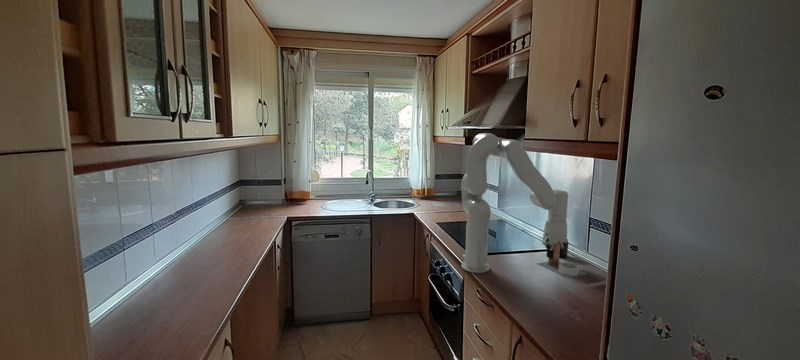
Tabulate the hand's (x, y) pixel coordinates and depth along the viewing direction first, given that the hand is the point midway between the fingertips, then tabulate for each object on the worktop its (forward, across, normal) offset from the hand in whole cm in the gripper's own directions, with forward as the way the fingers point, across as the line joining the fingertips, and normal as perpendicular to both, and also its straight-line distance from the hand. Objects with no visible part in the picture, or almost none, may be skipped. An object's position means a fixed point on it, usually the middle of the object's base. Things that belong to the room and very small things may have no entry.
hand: (553, 256), depth 158 cm
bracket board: (+5, 0, +4) cm, 7 cm away
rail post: (+4, 0, 0) cm, 4 cm away
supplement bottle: (+5, -12, -8) cm, 15 cm away
